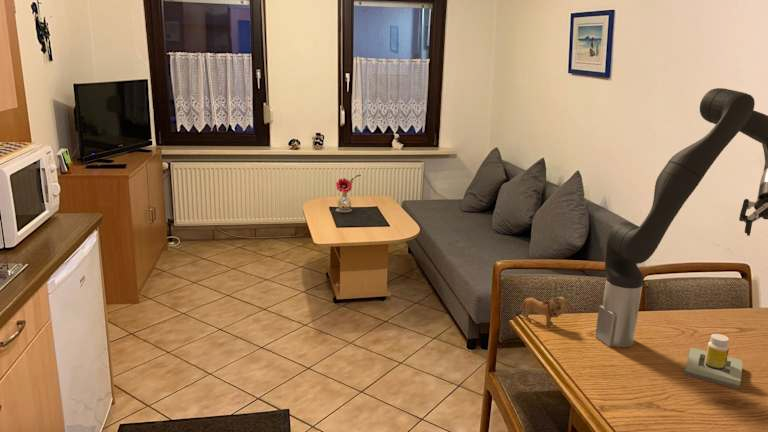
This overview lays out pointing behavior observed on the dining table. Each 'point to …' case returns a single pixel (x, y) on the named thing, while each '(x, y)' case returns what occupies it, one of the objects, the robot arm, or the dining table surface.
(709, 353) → the supplement bottle
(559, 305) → the lion figurine
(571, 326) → the dining table surface
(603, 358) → the dining table surface
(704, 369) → the recess plate
